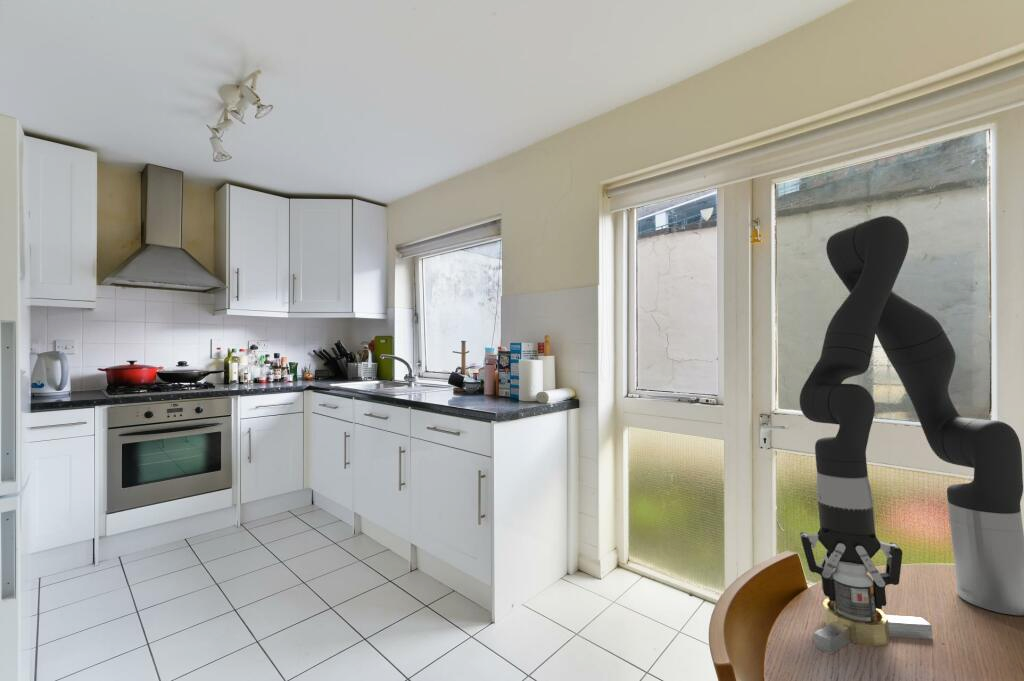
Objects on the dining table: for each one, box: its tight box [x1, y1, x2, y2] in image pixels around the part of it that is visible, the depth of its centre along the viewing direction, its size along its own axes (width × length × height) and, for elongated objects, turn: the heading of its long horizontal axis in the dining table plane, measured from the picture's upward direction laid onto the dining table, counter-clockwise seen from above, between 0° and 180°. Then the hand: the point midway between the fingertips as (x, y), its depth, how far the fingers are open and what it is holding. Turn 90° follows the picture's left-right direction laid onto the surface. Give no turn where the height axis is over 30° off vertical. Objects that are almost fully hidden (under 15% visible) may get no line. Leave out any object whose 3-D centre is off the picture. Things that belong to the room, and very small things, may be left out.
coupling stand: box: [813, 597, 934, 655], centre depth 73 cm, size 20×9×3 cm, turn 98°
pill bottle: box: [831, 561, 877, 623], centre depth 73 cm, size 6×6×10 cm
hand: (853, 602), depth 73 cm, fingers closed on pill bottle, 5 cm apart
